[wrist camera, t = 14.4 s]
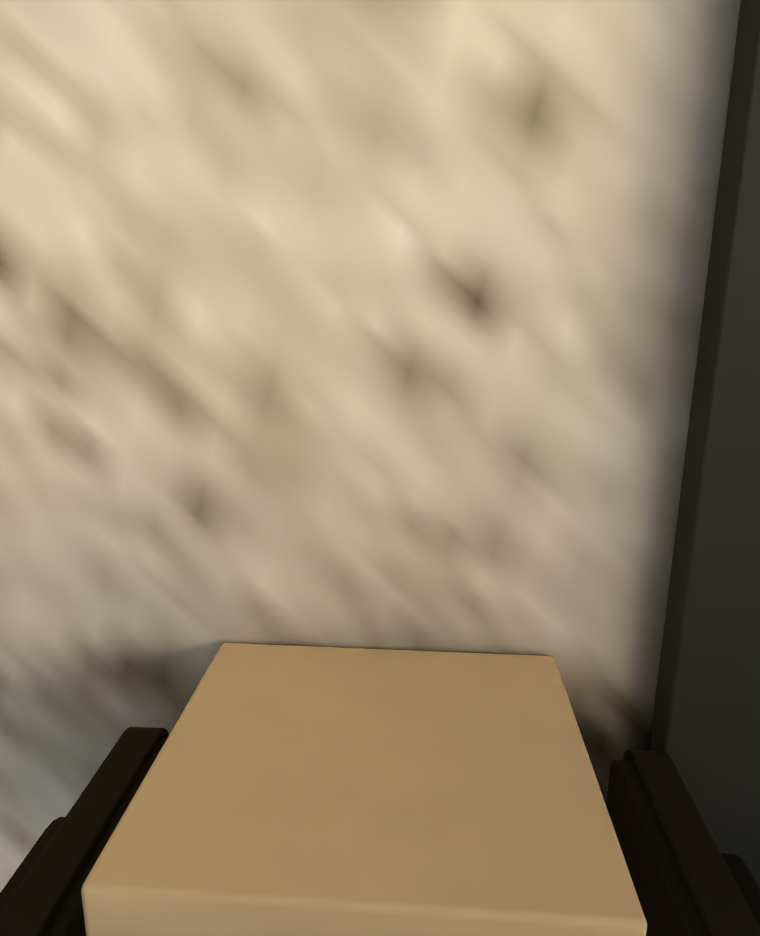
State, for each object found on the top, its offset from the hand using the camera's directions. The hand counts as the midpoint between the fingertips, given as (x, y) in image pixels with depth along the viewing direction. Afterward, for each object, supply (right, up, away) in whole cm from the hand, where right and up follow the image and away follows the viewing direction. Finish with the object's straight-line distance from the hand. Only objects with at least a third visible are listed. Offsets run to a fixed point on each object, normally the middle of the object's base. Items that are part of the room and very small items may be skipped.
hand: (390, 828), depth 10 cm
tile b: (0, 0, +1) cm, 1 cm away
